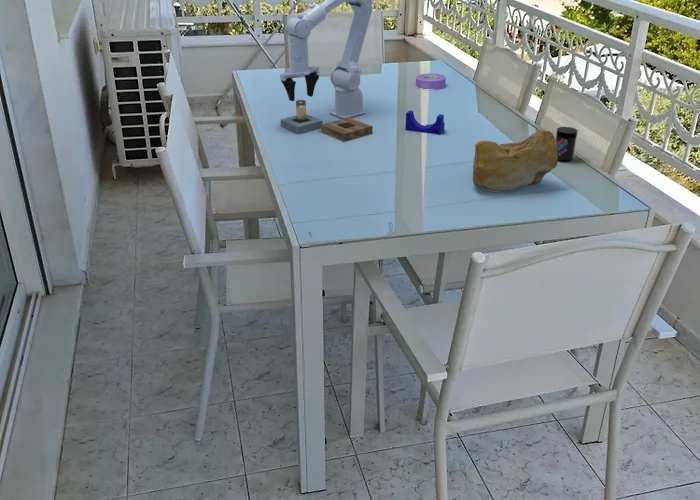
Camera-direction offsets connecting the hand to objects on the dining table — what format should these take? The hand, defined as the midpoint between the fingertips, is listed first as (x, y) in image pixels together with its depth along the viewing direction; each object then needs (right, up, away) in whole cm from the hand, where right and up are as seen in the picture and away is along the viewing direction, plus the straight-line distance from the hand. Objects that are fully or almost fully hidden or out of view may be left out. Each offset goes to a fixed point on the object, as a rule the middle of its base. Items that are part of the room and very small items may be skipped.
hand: (300, 98), depth 233 cm
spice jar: (0, -9, +3) cm, 10 cm away
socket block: (+15, -12, -2) cm, 19 cm away
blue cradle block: (+41, -11, 0) cm, 42 cm away
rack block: (0, -9, +3) cm, 10 cm away
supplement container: (+80, -23, -23) cm, 86 cm away
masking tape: (+48, +15, +47) cm, 69 cm away
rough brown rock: (+60, -31, -38) cm, 78 cm away
